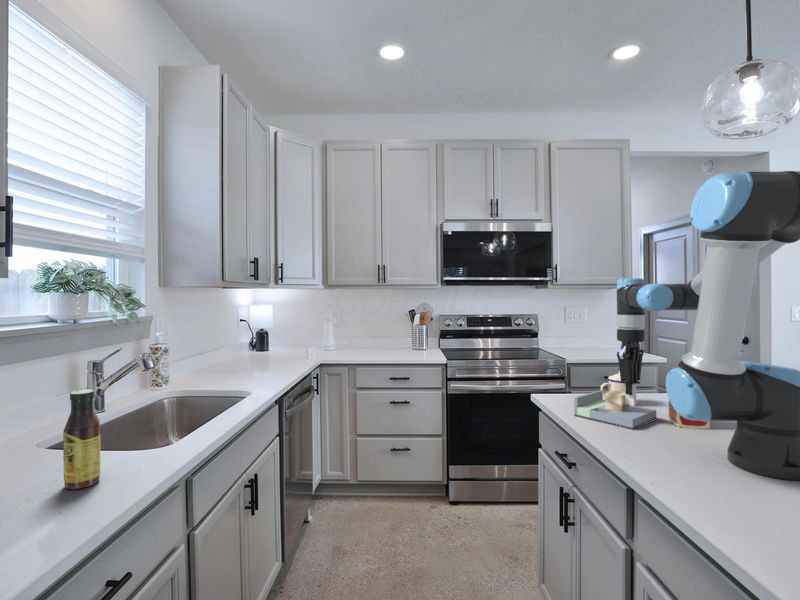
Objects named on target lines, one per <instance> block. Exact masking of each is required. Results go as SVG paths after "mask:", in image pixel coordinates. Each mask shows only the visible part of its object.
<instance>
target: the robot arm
mask: <svg viewBox="0 0 800 600" xmlns="http://www.w3.org/2000/svg"><path fill="white" fill-rule="evenodd" d="M689 214H690V220H692V221H691V224H692V226H693V228H695V229H696V230H698V231H699V232H700V238H699V239H700V240H701V242H703V243H704V245H705V246H706V254H705V261H704V267H703V269H702V270H701V271H700V272H699V273H697V275H695V276H694V277H693V278H692V279H691V280H690V281H689V282H687V283H647V284H645V279H644V278H641V277H635V278H631V277H630V278H628V277H627V278H620V279H618V280H617V281H616V282H617V283H616V290H615V291H616V318H615V320H616V326H617V329H616V340H617V341H618V342H621V346H620V352H619V351H617V352H616V357H617V360H618V368H619V369H618V370H619V371H620V378H621V383H625V404H627V405H632V406H637V384H638V385H639V384H641V373H642V366H643V365H642V364H643V358H644V357H643V356H644V352H645V350H644V349H642V348H641V345H640V343H644V341H646V339H645V338H646V337H645V336H646V335H645V330H644V328H645V327H646V324H645V322H646V319H645V316H646V315H645V311H649V312H661V311H696V317H695V323H694V328H693V329H694V330H693V336H692V342H691V349H690V351H689V352H688V353H687V352H686V353H685V354H684V355H682V356H681V358H682V359H681V365H680V368H677V367H673V368H672V369H670V370H669V371H668V372H667V374H666V377H665V390H666V395H667V398H668V401H669V400H670V402H671V404H672V406H673V408H674V409H675V410H676V411H677V413H678V414H680V415H681V416H682V417H684V418H686V419H688V420H697V421H704V422H708V421H710V422H726V421H727V422H736V428H735V431H734V433H733V435H732V438H731V440H730V442H729V444H728V447H727V452H726V453H727V454H726V455H727V456H726V457H727V460H728V462H729V463H731V464H732V465H734V466H736V467H738V468H740V469H742V470H745V471H747V472H750V473H754V474H757V475H761V476H765V477H770V478H776V479H783V480H787V481H789V480H790V481H791V480H792V481H800V370H798V369H795V368H791V367H786V366H782V365H780V366H779V365H773V364H769V363H761V362H754V361H746V360H744V361H743V360H740V354H741V349H742V343H743V339H744V334H745V329H746V323H747V317H748V312H749V306H750V302H751V295H752V293H753V285H754V281H755V276H756V270H757V267H758V266H759V265H760V264H762V263H763V262H764V261H765V260H767V259H768V258H769V257H771V256H772V255H774V254H775V253H776V252H777V251H778V250H780V249H782V247H784V246H785V245H786V244H793V243H797V242H798V241H800V171H796V170H783V171H741V170H739V171H733V172H724V173H718V174H715V175H714V176H712V177H710V178H708V179H707V180H706V181H705V182H703V185H701V186H700V187H699V189H698V190H697V191H696V193H695V195H694V197H693V200H692V202H691V206H690V213H689Z"/></svg>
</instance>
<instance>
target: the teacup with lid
mask: <svg viewBox="0 0 800 600" xmlns="http://www.w3.org/2000/svg"><path fill="white" fill-rule="evenodd" d="M607 380H608V382H604V383H602V384H601V385H600V391H602V396H603V397H605V393H606V392H605V391H604V387H606V386H608V392H610V391H619V392H624V393H625V383H621V378H620V370H619V371H618V373H615V374H613V375H609V376H608V378H607Z"/></svg>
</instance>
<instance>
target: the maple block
mask: <svg viewBox="0 0 800 600" xmlns="http://www.w3.org/2000/svg"><path fill="white" fill-rule="evenodd" d="M604 393H605V396H604V400H605V408H606V409H610V410H615V411H620V412H622V411H625V410H628V409H629V405H627V404H625V393H624V392H619V391H610V392H609V391H606V392H604Z"/></svg>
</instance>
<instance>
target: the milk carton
mask: <svg viewBox="0 0 800 600" xmlns="http://www.w3.org/2000/svg"><path fill="white" fill-rule="evenodd" d="M678 358H679V363H678V365H677V367H676V368H680V365H681V359H682V357H678ZM667 415H668V416H667V417H668V418H669V419H670V420H671V421H672V422H673V424H674V425H675V424H676V425H677V426H678V427H682V428H681V429H693V428H696V430H697V429H698V430H699V429H700V430H701V429H702V430H710V429H711V427H710V422H711V421H708V422H704V421H697V420H688V419H686V418H684V417H682V416H681V415H680V414H678V413H677V411H676V410H675V409H674V408H673V406H672V404H671V402H670V400H669V399H668V414H667ZM668 418H667V419H668ZM669 419H668V420H669ZM670 420H669V421H670ZM671 421H670V422H671ZM672 422H671V423H672ZM676 425H675V426H676ZM677 426H676V427H677ZM678 427H677V428H678Z"/></svg>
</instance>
